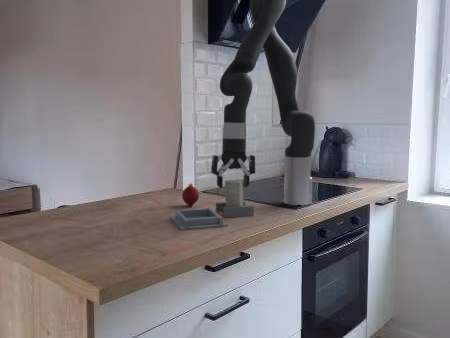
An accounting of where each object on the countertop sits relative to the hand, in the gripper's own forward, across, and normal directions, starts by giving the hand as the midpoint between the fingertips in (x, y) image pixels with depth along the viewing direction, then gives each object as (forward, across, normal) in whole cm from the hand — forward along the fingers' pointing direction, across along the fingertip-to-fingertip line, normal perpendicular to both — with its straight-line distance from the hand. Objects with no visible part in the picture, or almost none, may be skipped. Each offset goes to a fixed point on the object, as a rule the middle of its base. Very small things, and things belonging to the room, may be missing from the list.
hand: (233, 187), depth 133 cm
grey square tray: (+9, +13, +8) cm, 18 cm away
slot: (+9, -1, 0) cm, 9 cm away
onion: (+9, +11, -15) cm, 20 cm away
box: (+9, -1, 0) cm, 9 cm away
